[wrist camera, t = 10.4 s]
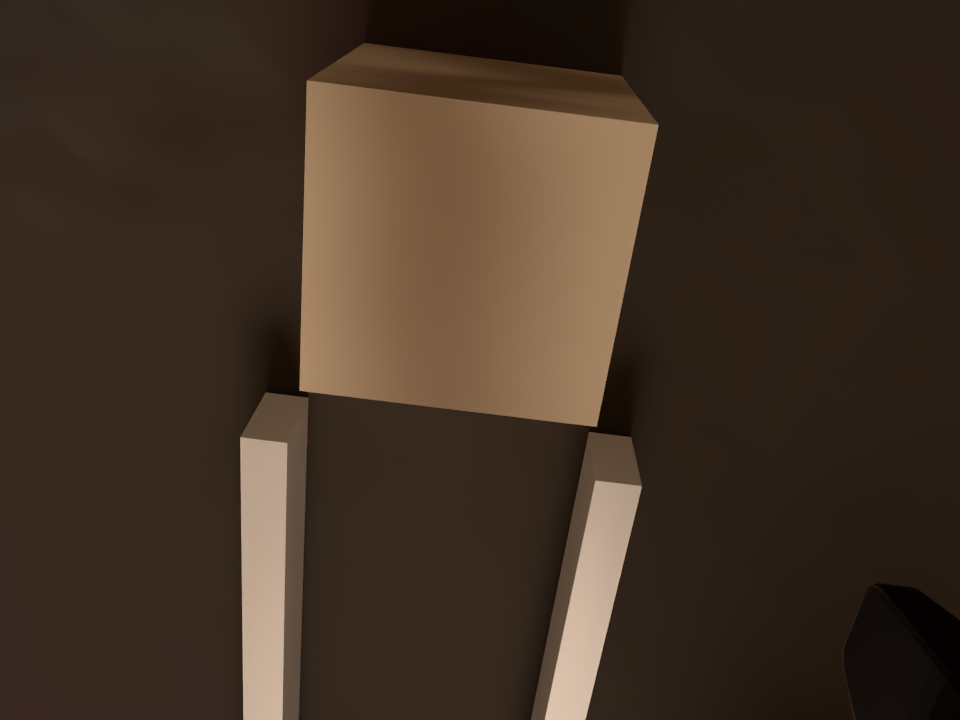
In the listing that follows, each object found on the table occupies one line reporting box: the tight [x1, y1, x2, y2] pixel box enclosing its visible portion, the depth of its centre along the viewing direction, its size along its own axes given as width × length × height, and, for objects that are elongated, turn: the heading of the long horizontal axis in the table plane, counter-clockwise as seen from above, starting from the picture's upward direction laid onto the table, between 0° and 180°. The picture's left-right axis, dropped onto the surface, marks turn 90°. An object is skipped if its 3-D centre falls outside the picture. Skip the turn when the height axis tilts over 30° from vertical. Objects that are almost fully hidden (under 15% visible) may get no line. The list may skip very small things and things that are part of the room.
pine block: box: [299, 43, 658, 427], centre depth 15 cm, size 5×5×5 cm
